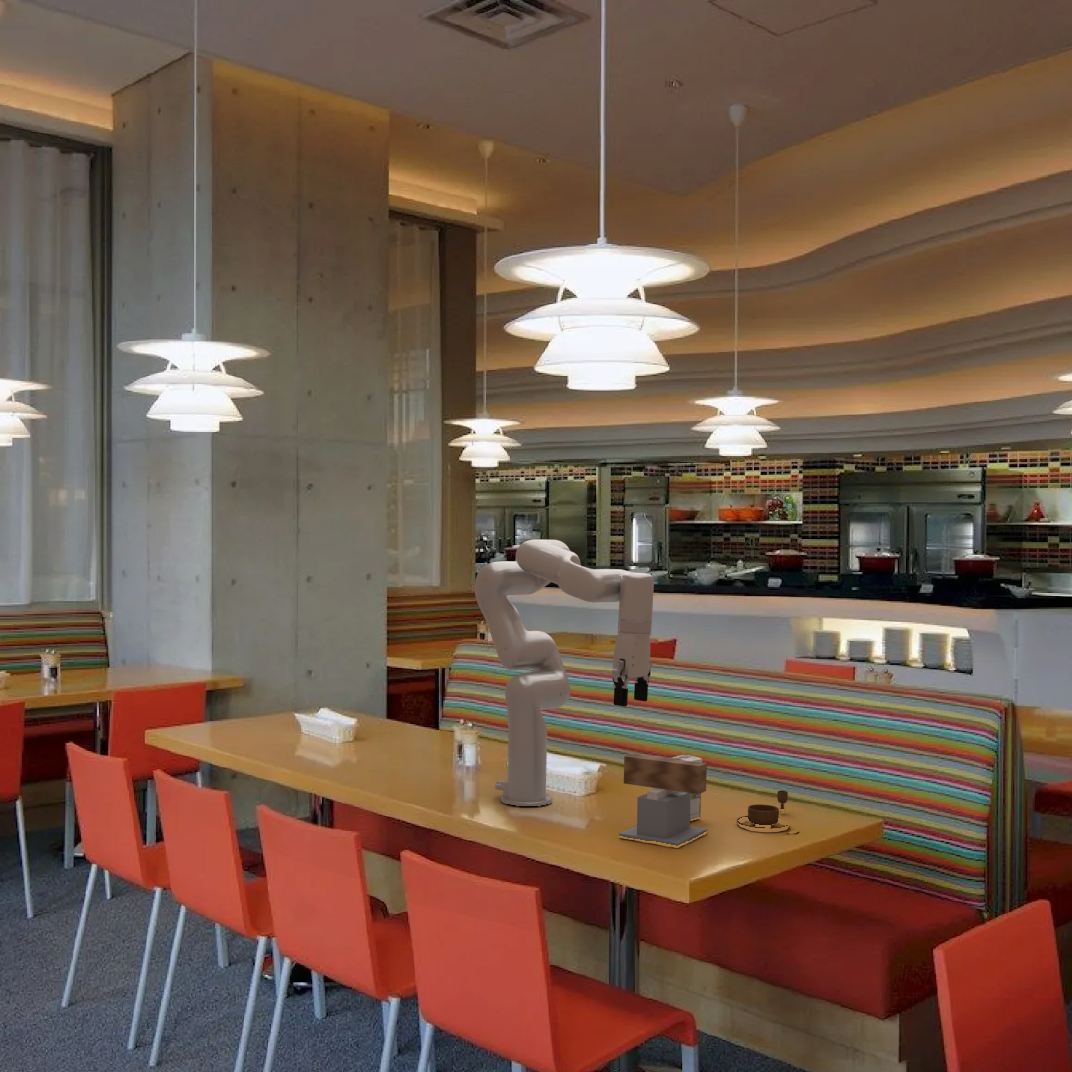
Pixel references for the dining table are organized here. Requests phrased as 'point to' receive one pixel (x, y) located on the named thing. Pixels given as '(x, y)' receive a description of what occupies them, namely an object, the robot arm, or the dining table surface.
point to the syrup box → (694, 798)
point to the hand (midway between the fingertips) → (630, 703)
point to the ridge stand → (663, 818)
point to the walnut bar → (665, 773)
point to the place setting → (766, 812)
